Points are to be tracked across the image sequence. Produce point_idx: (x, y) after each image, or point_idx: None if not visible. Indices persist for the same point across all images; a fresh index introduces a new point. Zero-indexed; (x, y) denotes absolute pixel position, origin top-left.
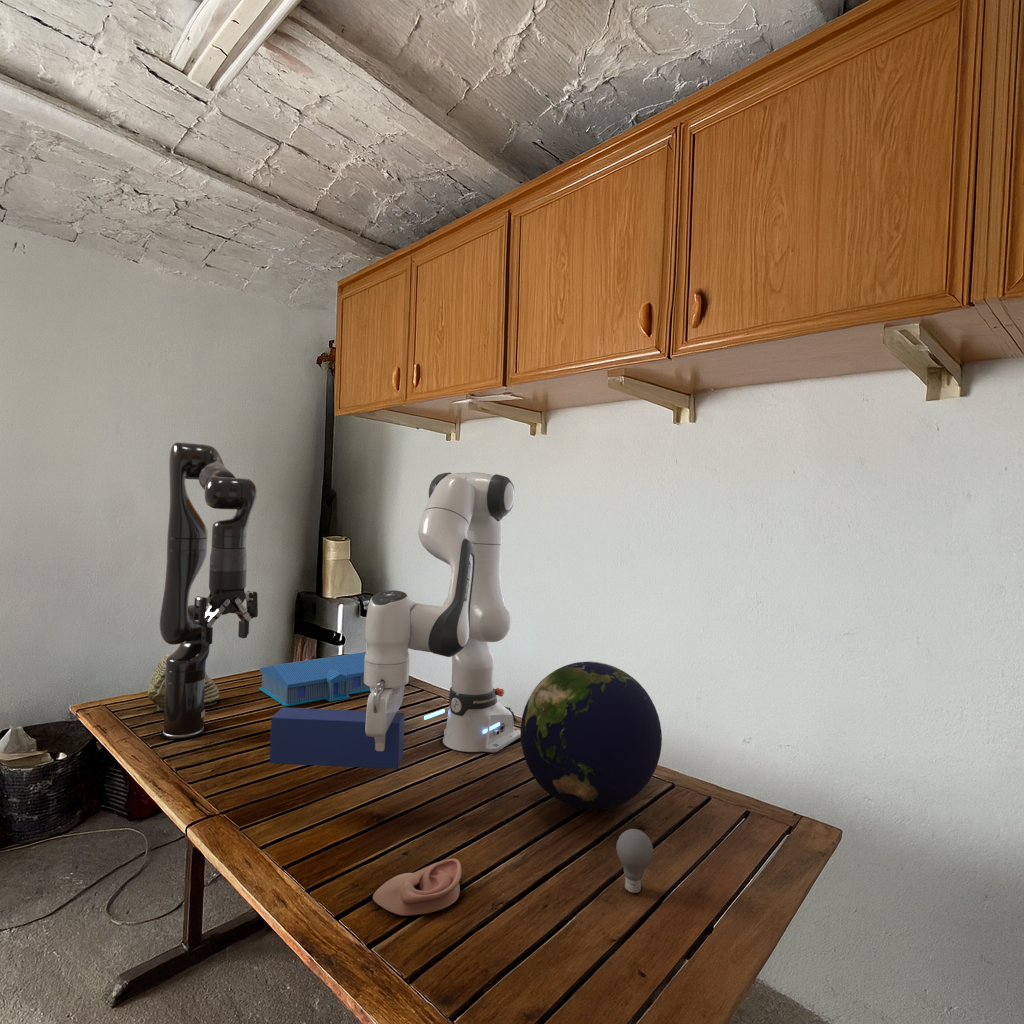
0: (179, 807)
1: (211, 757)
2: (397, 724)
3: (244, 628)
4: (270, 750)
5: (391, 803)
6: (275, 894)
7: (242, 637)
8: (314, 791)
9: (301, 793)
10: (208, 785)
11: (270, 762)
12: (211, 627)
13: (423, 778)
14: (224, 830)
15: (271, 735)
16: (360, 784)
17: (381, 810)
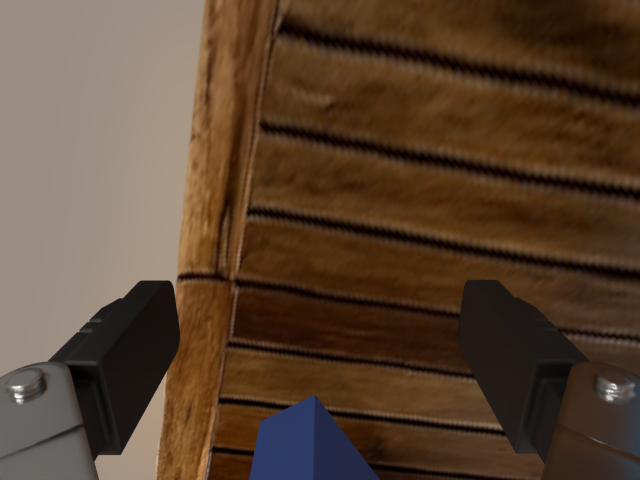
0: (196, 209)
1: (375, 27)
2: None
3: (489, 398)
4: (256, 444)
5: (420, 444)
6: (176, 475)
7: (460, 326)
8: (384, 337)
9: (365, 326)
10: (281, 168)
11: (260, 424)
12: (105, 453)
13: None
14: (209, 330)
15: (251, 475)
16: (448, 374)
17: (395, 446)
